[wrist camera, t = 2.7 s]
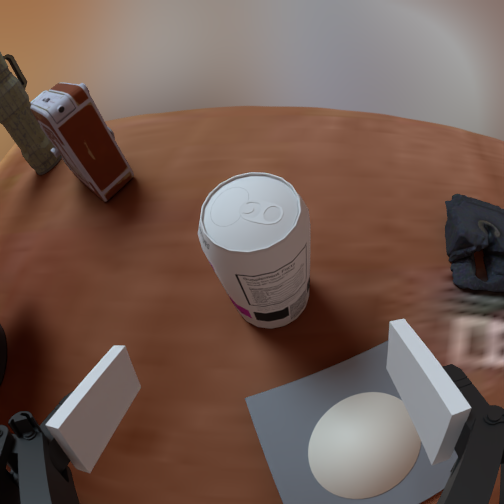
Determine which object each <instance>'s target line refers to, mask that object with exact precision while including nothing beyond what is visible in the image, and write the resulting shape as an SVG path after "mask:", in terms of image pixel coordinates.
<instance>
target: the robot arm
mask: <svg viewBox="0 0 504 504" xmlns="http://www.w3.org/2000/svg"><path fill="white" fill-rule="evenodd" d="M6 355H7V348H6V338H5V334H4V331H3V328H2V326H1V325H0V384H1V382H2V379H3V375H4V371H5V366H6ZM386 369H387V371H388V373H389V375H390V377H391V379H392V381H393V383H394V385H395V387H396V389H397V391H398V393H399V395H400V397H401V399H402V401H403V403H404V405H405V407H406V409H407V411H408V413H409V416H410V418H411V420H412V422H413V424H414V426H415V428H416V431H417V433H418V435H419V437H420V439H421V442H422V444H423V446H424V448H425V451H426V453H427V455H428V458H429V460H430V462H431V465H435V464H437V463H440V462H443V461H446V460H448V459H450V457H451V455H452V453H453V451H454V450H455V451H456V453H457V455H458V458H457V460H456V462H455V464H454V465H453V467H452V469H451V471H450V472H451V474H450V476H449V479H448V481H447V483H446V486H445V488H444V490H443V492H442V494H441V496H440V498H439V500H438V502H437V504H488V503H489V500H490V497H491V494H492V491H493V488H494V484H495V481H496V478H497V474H498V470H499V467H500V464H501V482H500V501H499V504H504V409H503V408H502V407H499V406H496V405H489V404H488V403H487V402H486V400H485V399H484V398H483V396H482V395H481V394H480V392H479V391H478V390H477V389H476V387H475V386H474V385H473V384H472V382H471V381H470V380H469V378H468V379H467V376H466V375H465V374H464V372H463V371H462V370H461V369H460V368H458V367H456V366H454V365H453V364H450V365H447V366H443V367H442V366H441V365H440V364H439V362H438V361H437V360H436V358H435V357H434V356H433V354H432V353H431V352H430V351H429V349H428V348H427V347H426V345H425V344H424V343H423V342H422V340H421V339H420V338H419V337H418V335H417V334H416V333H415V332H414V330H413V329H412V328H411V327H410V325H409V324H408V323H407V322H406V320H405V319H400V320H395V321H390V322H389V341H388V354H387V366H386ZM140 388H141V386H140V383H139V381H138V378H137V376H136V373H135V371H134V368H133V365H132V363H131V360H130V357H129V355H128V352H127V349H126V346H113V347H112V348H111V349H110V350H109V351H108V352H107V354H106V355H105V356H104V357H103V358H102V359H101V360H100V361H99V363H98V364H97V365H96V366H95V367H94V368H93V369H92V370H91V372H90V373H89V374H88V375H87V376H86V377H85V379H84V380H83V381H82V382H81V383H80V384H79V385H78V387H77V388H76V389H75V390H74V391H72V392H71V393H69V394H68V395H66V396H65V397H64V398H63V399H62V400H61V401H60V402H59V405H57V406H56V407H55V408H54V409H55V410H53V411H52V412H51V413H50V414H49V415H48V417H47V418H46V419H45V420H44V421H43V422H42V424H41V425H40V426H39V425H38V423H37V422H36V420H35V419H34V417H33V415H32V414H31V413H30V412H28V411H21V412H18V413H16V414H15V415H13V416H12V417H11V418H10V420H9V423H8V424H9V425H10V427H11V428H12V430H13V431H14V433H15V434H11V433H10V431H9V430H8V428H7V427H6V426H4V425H0V504H79V500H78V497H77V493H76V490H75V486H74V482H73V478H72V474H71V470H70V468H69V467H68V466H67V465H68V463H69V462H70V461H71V462H72V464H73V465H74V466H75V467H76V469H78V470H81V471H84V472H88V473H90V472H91V471H92V469H93V467H94V466H95V464H96V462H97V460H98V459H99V457H100V455H101V453H102V452H103V450H104V448H105V447H106V445H107V443H108V442H109V440H110V438H111V436H112V435H113V433H114V431H115V430H116V428H117V426H118V425H119V423H120V421H121V420H122V418H123V416H124V415H125V413H126V411H127V410H128V408H129V406H130V405H131V403H132V401H133V400H134V398H135V396H136V395H137V393H138V391H139V390H140ZM6 465H8V466H9V467H10V468H11V472H10V473H9V472H8V471H7V470H6Z"/></svg>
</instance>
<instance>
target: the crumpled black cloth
mask: <svg viewBox="0 0 504 504" xmlns="http://www.w3.org/2000/svg"><path fill="white" fill-rule="evenodd" d="M445 203H446V207H447V217H448V220H447V222H446V226H445V237H446V250H447V255H448V256H449V257H450V258H449V261H451V262H452V265H451V271H453V278H454V280H453V282H454V283H455V284H456V285H457V286H458V287H459V288H470V289H473V290H478V289H480V290H487V291H494V292H504V209H501V208H500V207H499V206H495V205H492V204H490V203H487V202H483V201H481V200H477V199H474V198H471V197H470V198H469V197H467V196H464V195H460V194H455V195H453V196H452V200H451V201H445ZM481 249H482V250H483V252H484V257H483V259H484V264H485V267H486V271H487V275H488V281H487V282H483V281H482V280H480V279H478V278H477V277H476V275H475V273H476V268H475V258H474V252H475V251H480V250H481ZM454 261H455V262H454Z"/></svg>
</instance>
